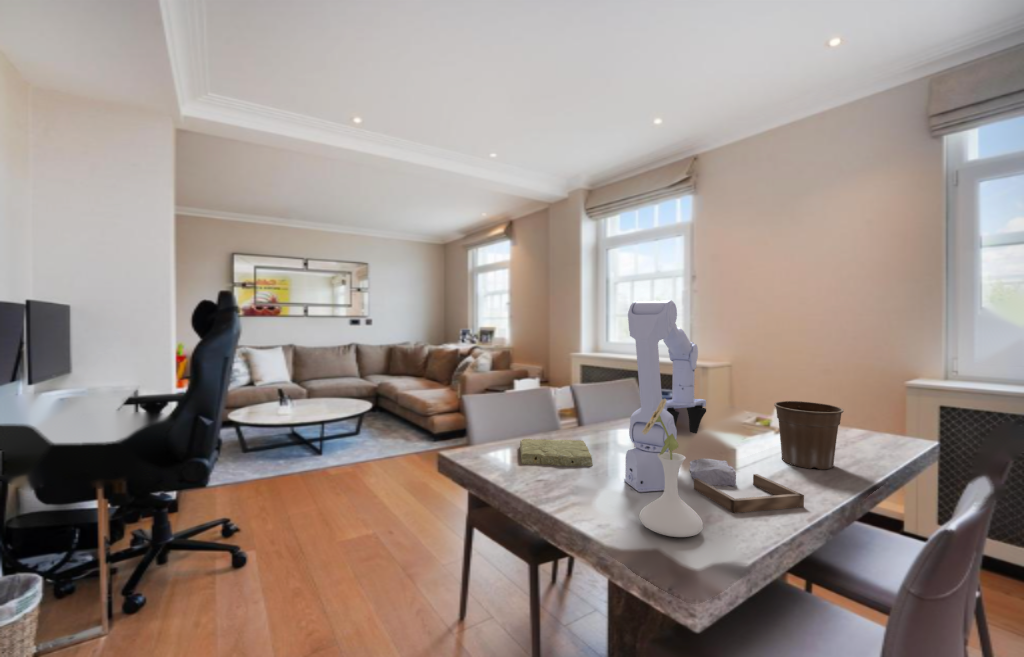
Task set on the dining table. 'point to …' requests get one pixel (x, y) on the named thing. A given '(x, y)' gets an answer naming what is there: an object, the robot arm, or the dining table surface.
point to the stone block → (713, 472)
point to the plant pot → (808, 433)
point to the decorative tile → (555, 452)
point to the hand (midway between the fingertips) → (682, 433)
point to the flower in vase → (669, 493)
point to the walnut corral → (778, 501)
